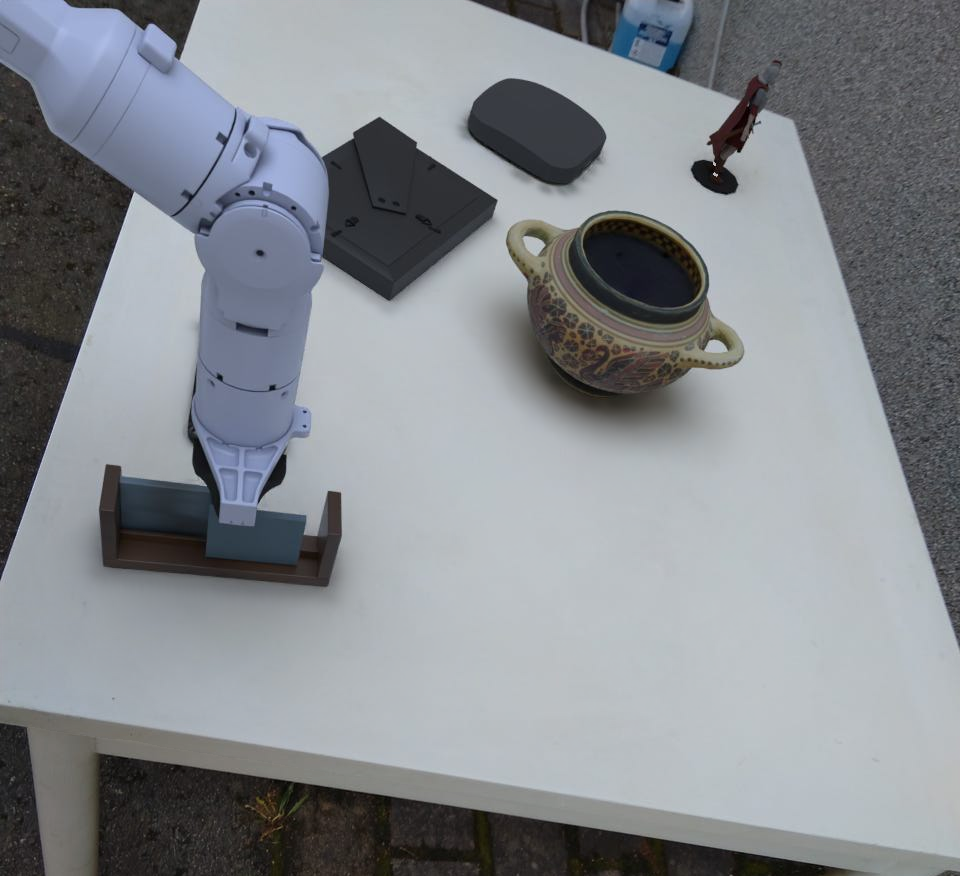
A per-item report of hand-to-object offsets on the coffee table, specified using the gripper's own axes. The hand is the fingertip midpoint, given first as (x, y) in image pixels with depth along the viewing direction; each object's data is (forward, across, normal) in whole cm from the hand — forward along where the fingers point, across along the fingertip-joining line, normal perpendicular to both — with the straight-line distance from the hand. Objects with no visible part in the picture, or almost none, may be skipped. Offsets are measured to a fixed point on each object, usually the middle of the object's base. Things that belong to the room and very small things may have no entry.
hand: (233, 505), depth 64 cm
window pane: (+6, 0, -2) cm, 6 cm away
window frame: (+7, +1, 0) cm, 7 cm away
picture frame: (+7, +46, -13) cm, 48 cm away
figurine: (+7, +68, -57) cm, 89 cm away
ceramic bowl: (+7, +28, -34) cm, 45 cm away
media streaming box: (+7, +67, -33) cm, 75 cm away
